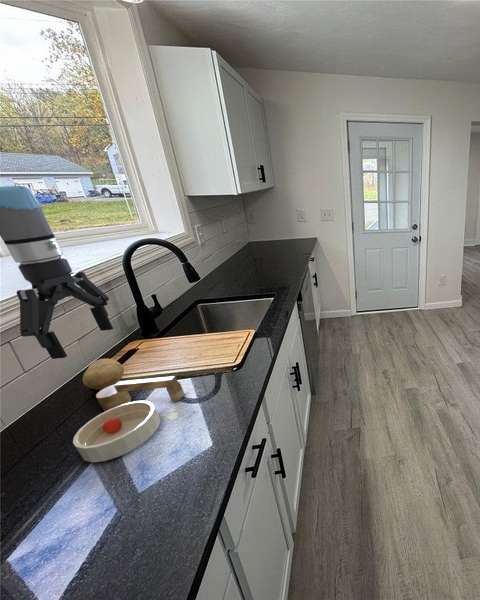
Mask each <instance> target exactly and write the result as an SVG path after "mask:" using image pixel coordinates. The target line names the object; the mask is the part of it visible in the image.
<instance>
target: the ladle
mask: <svg viewBox="0 0 480 600" xmlns="http://www.w3.org/2000/svg"><path fill="white" fill-rule="evenodd" d="M164 388H166V389H165V390H166V391H167V394H168V396H169V399H170V400H171V403H175V402H180V401H181V399H182V398H183V397H184V396H185V391H184V389H183V386H182V384H181V382H180V381H178V379H177V376H176V375H169V376H160V377H150V378H149V377H148V378H139V379H129V380H128V379H127V380H120V381H119V382H118V383H116V384H114V385H111V386H108V387H106V388H104V389H102V390H99V391H98V392H97V393H96V394H95V397H96V399H97V401H98V403H99V406H101V408H102V411H104V412H105V411H107V410H109V409H112V408H114V407H117V406H119V405H122V404H126V403H130V402H132V397H131V395H130V393H129V392H135V391H146V390H153V389H154V390H156V389H164Z"/></svg>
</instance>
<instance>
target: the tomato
mask: <svg viewBox="0 0 480 600" xmlns="http://www.w3.org/2000/svg"><path fill="white" fill-rule="evenodd" d="M121 425H122V423H121V421H120V420H119V419H117V418H112V419H109V420H107V421H106V422H105V423H104V424H103V431H104V432H106V433H114V432H116V431H118V430H119V429H120V427H121Z"/></svg>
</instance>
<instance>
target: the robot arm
mask: <svg viewBox="0 0 480 600" xmlns="http://www.w3.org/2000/svg"><path fill="white" fill-rule="evenodd" d="M0 238H1V239H2V241H3V243H4V245H5V247H6V248H7V250H8V253H10V256H11V257H12V259H13V261H14V262H15V263H17V264H18V263H19V264H18V265H17V268H18V269H19V271H20V273H21V275H22V277H23V278H24V280H25V281H26V282H29V283H30V285H31V288H28V289H27V288H26V289H18V290H16V292H15V293H16V296H17V298H18V300H19V328H20V329H19V330H20V331H19V335H20V337H23V338H25V337H34V338H36V340H37V342H38V343H39V345H40V347H41V348H42V349H46V351H47V353H48V354H49V356H50V358H51V360H56V359H57V360H58V359H65V358H66V357H68V355H67V353H66V351H65V349H64V348H63V346H62V344H61V342H60V340H59V338H58V337H57V335H56V333H55V332H54V331H53V330H51V331H50V328H51V322H52V318H53V315H54V312H55V311H54V310H55V306H56V305H58V303H59V301H62V300H64V299H66V298H69V297H72V298H75V299H77V300H79V301H81V302H83V303H85V304H87V305H89V306H90V308H89V311H90V312H91V314H92V316H93V319H94V321H95V322H96V324H97V326H98V328H99V330H100V331H101V332H102V331H111V330H113V329H114V327H113V325H112V323H111V321H110V318H109V313H108V311H107V309H106V307H105V306H108V304H109V303H108V301H109V300H110V298H109V295H107V294H106V293H104V291H102V290H101V289H100V288H99V287H98V286H96V284H94V283H93V282H92V281H91V280H90V278H88V276H87V274H86V273H85V272H84V271H73V269H72V267H71V265H70V263H69V261H68V258H66V257H64V256H63V255H64V252H63V249H62V248H61V246H60V244H59V241H58V240H57V237H56V236H55V234H54V232H53V231H52V228H51V226H50V224H49V222H48V219H47V216H46V215H45V212H44V210H43V206H42V204H40V203H39V201H38V199H37V198H36V196H35V194H34V193H33V191H32V190H31V189H30V188H29V187H28V186H24V185H8V186H7V185H5V186H0Z"/></svg>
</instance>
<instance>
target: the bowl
mask: <svg viewBox="0 0 480 600" xmlns="http://www.w3.org/2000/svg"><path fill="white" fill-rule="evenodd" d="M112 418H117V419H119V420H120V421H121V423H122V425H121V427H120V429H119V430H118V431H116V432H114V433H106V432H104V431H103V424H104V423H105V422H106V421H107V420H109V419H112ZM160 425H161V417H160V415H159V412H158V410H157V408H156V405H155V404H154V403H153V402H151V401H149V400H134V401H130V402H129V403H126V404H122V405H119V406H117V407H114V408H112V409H109V410H107V411H104V412H101V413H99V414H97V415H96V416H94V417H93V418H92V419H90V420H89V421H88V422H86V423H85V424H84V425H83V426H81V427H80V428H79V429H78V430H77V432H76V433H75V434H74V436H73V440H72V444H73V446H74V447H75V449H76V451H77V452H78V454H79V455H80V457H81V458H82V459H83V460H84V462H88V463H100V462H106V461H109V460H113V459H116V458H119V457H122V456H124V455H126V454H128V453H130V452H132V451H133V450H135V449H137V448H138V447H141V445H143V444H144V443H145V442H146V441H148V440H149V439H150V438H151V437H152V436H154V434H155V433H156V432H157V430H158V429H159V427H160Z"/></svg>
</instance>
